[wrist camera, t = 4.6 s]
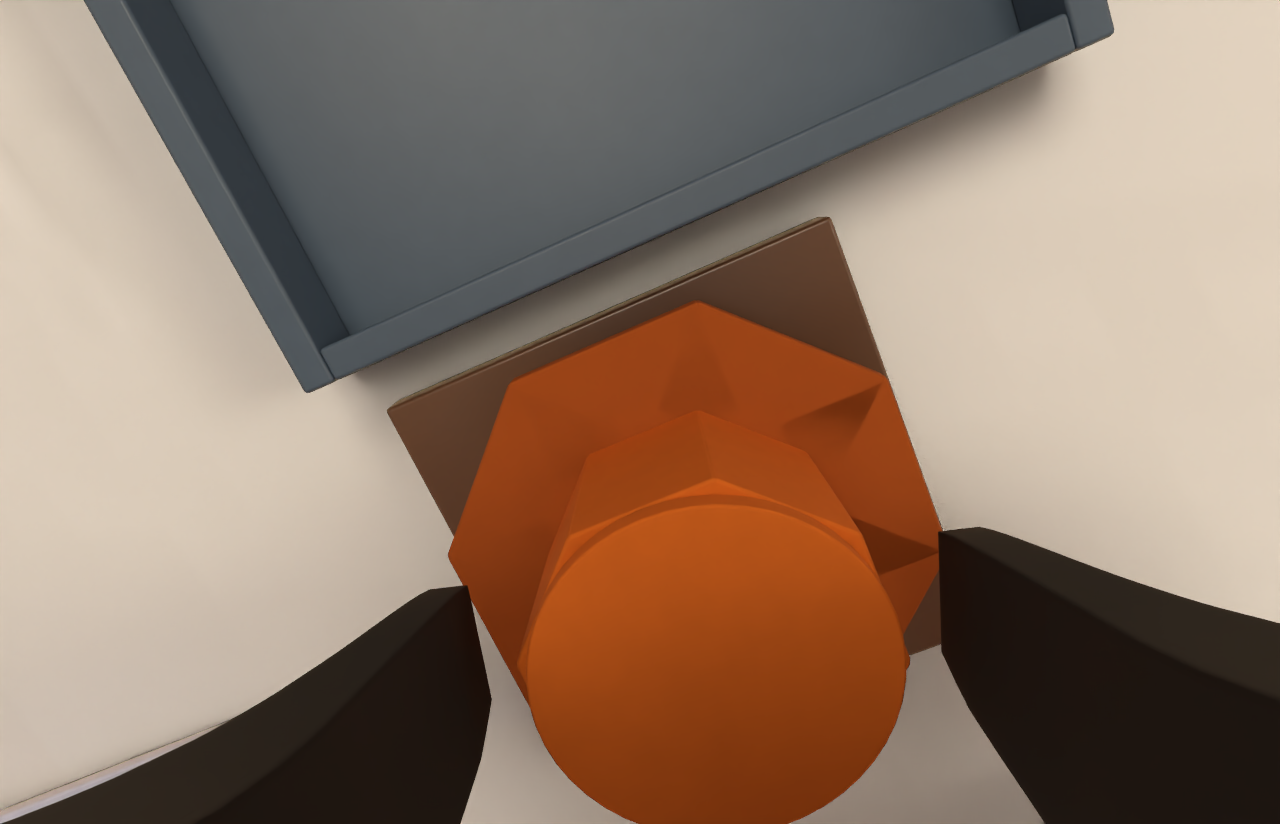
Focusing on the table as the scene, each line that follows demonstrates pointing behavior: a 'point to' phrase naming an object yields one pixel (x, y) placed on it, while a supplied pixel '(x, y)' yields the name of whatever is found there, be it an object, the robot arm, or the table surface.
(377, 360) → the tray
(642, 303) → the peg stand
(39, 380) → the table surface
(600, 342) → the hat
